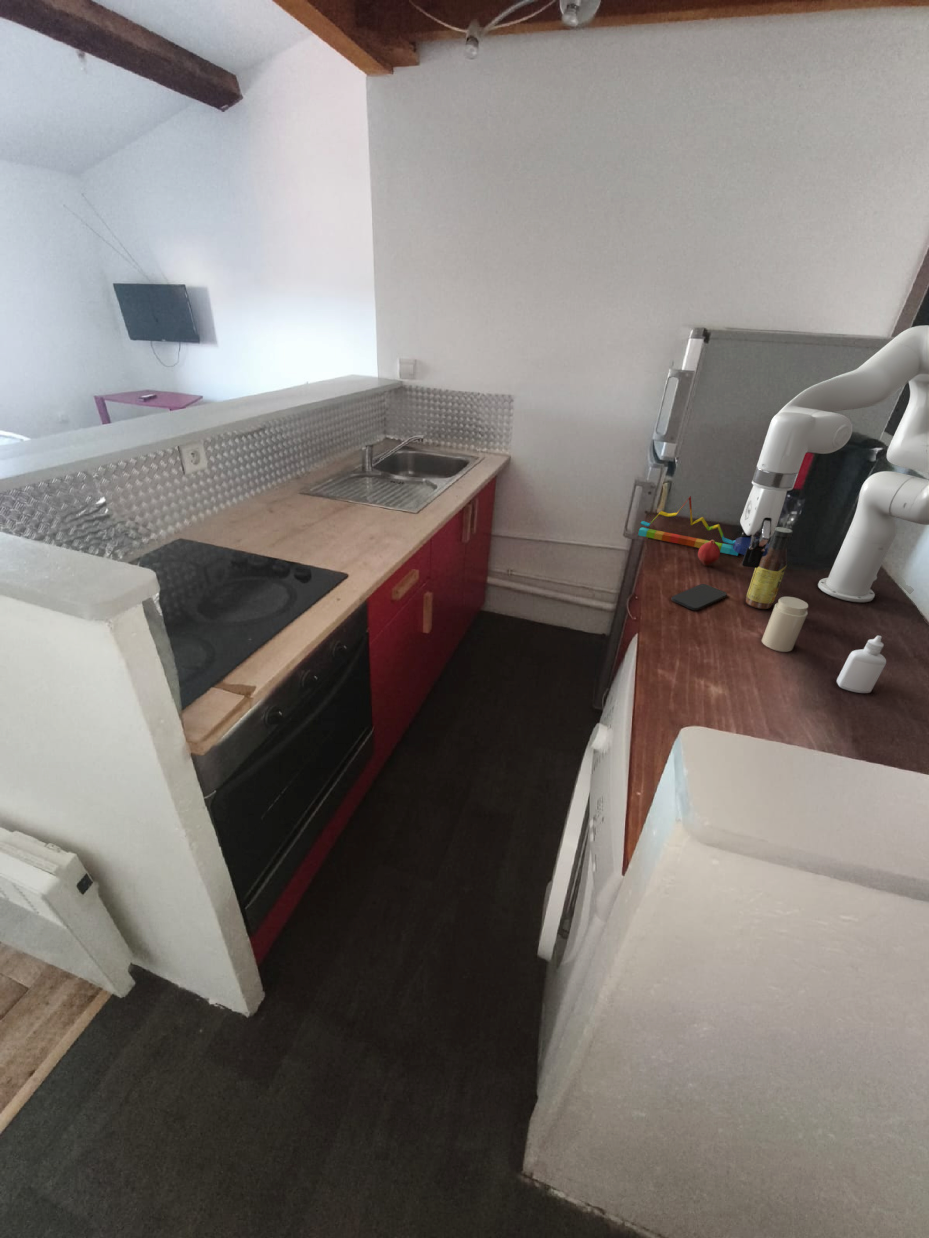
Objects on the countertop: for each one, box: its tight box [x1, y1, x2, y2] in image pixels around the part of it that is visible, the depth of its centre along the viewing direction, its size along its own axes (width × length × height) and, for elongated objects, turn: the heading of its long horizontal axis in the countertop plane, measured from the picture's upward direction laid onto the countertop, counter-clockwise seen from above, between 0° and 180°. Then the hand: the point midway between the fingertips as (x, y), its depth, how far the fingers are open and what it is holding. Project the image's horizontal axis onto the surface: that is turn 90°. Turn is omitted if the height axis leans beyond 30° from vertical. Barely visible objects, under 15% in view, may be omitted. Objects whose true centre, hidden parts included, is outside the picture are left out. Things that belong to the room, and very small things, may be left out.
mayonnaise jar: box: [761, 596, 809, 653], centre depth 111 cm, size 6×6×11 cm
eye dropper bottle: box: [836, 635, 887, 694], centre depth 97 cm, size 4×6×12 cm
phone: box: [671, 583, 728, 611], centre depth 131 cm, size 7×1×15 cm
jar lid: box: [732, 536, 770, 557], centre depth 110 cm, size 7×7×2 cm
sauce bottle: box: [745, 526, 793, 610], centre depth 124 cm, size 7×6×20 cm
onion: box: [697, 539, 721, 566], centre depth 148 cm, size 6×6×8 cm
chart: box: [637, 495, 739, 557], centre depth 160 cm, size 30×3×15 cm, turn 59°
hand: (746, 559), depth 112 cm, fingers closed on jar lid, 6 cm apart
